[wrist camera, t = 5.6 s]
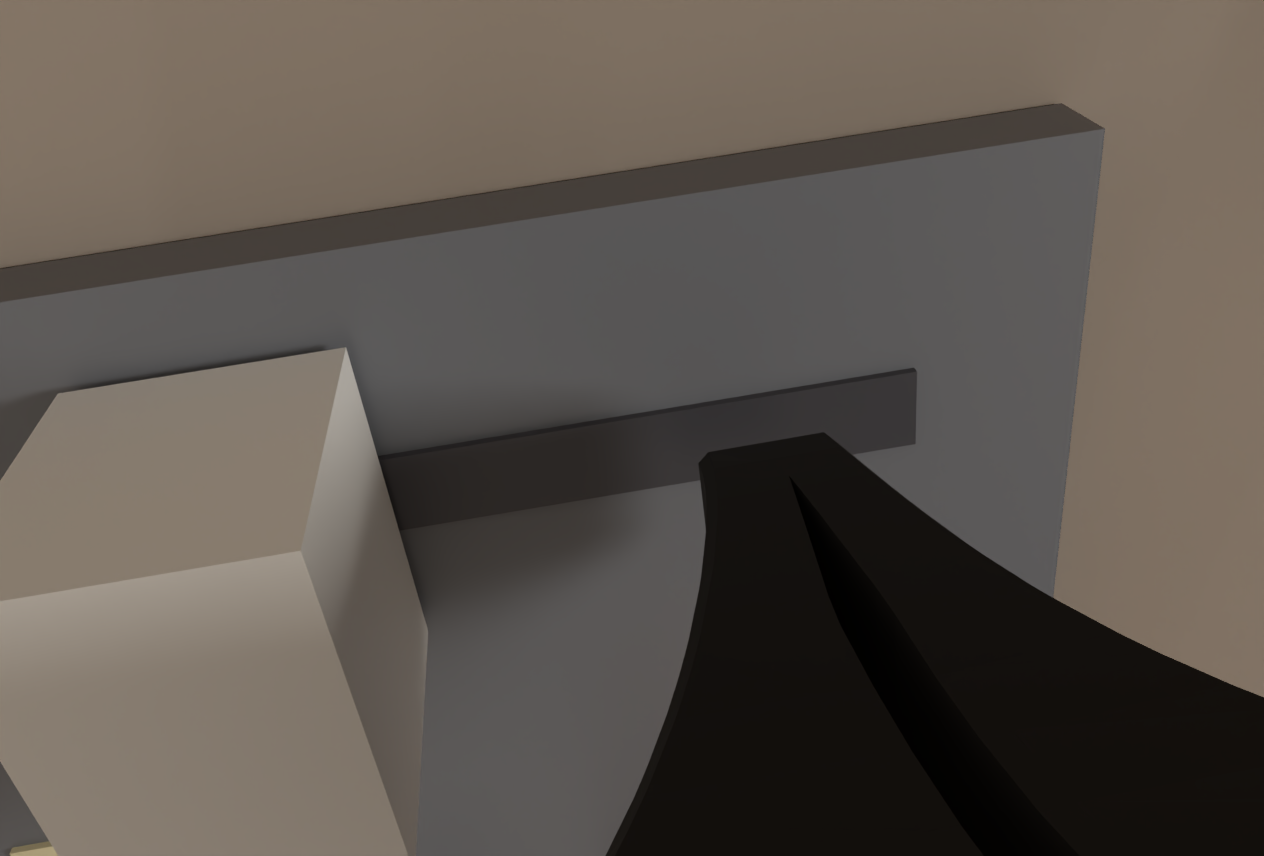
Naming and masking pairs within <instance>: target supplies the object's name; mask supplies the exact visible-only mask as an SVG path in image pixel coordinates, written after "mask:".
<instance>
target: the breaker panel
mask: <svg viewBox="0 0 1264 856" xmlns="http://www.w3.org/2000/svg"><path fill="white" fill-rule="evenodd" d="M1104 132H1105V128H1103V127H1101V126H1099V125H1098V124H1096V123H1094V122H1093V121H1091V120H1089V119H1087V118H1086V117H1084V116H1082V115H1081V114H1079V113H1077V112H1076V111H1074V110H1072V109H1070V108H1069V107H1067V106H1065V105H1064V104H1062V103H1061V104H1055V105H1048V106H1042V107H1036V108H1029V109H1023V110H1016V111H1010V112H1003V113H997V114H991V115H984V116H978V117H971V118H965V119H959V120H952V121H946V122H939V123H933V124H927V125H920V126H914V127H907V128H901V129H894V130H888V131H882V132H875V133H869V134H862V135H856V136H850V137H843V138H837V139H830V140H824V141H818V142H811V143H805V144H798V145H792V146H785V147H779V148H773V149H766V150H760V151H753V152H747V153H741V154H734V155H728V156H721V157H715V158H709V159H702V160H696V161H689V162H683V163H676V164H670V165H664V166H657V167H651V168H644V169H638V170H632V171H625V172H619V173H612V174H606V175H600V176H593V177H587V178H580V179H574V180H567V181H561V182H555V183H548V184H542V185H535V186H529V187H523V188H516V189H510V190H503V191H497V192H491V193H484V194H478V195H471V196H465V197H458V198H452V199H446V200H439V201H433V202H426V203H420V204H414V205H407V206H401V207H394V208H388V209H382V210H375V211H369V212H362V213H356V214H349V215H343V216H337V217H330V218H324V219H317V220H311V221H305V222H298V223H292V224H285V225H279V226H273V227H266V228H260V229H253V230H247V231H240V232H234V233H228V234H221V235H215V236H208V237H202V238H196V239H189V240H183V241H176V242H170V243H164V244H157V245H151V246H144V247H138V248H132V249H125V250H119V251H112V252H106V253H99V254H93V255H87V256H80V257H74V258H67V259H61V260H55V261H48V262H42V263H35V264H29V265H23V266H16V267H10V268H3V269H0V480H1V479H2V477H3V476H4V474H5V473H6V471H7V470H8V468H9V467H10V465H11V464H12V462H13V461H14V459H15V458H16V456H17V455H18V453H19V452H20V450H21V449H22V447H23V446H24V444H25V443H26V441H27V439H28V438H29V436H30V435H31V433H32V432H33V430H34V429H35V427H36V426H37V424H38V423H39V421H40V420H41V418H42V417H43V415H44V414H45V412H46V411H47V409H48V408H49V406H50V405H51V403H52V402H53V400H54V399H55V397H56V396H57V394H58V393H64V392H71V391H77V390H83V389H89V388H95V387H102V386H108V385H114V384H120V383H127V382H133V381H139V380H145V379H151V378H158V377H164V376H170V375H176V374H183V373H189V372H195V371H201V370H207V369H214V368H220V367H226V366H232V365H238V364H245V363H251V362H257V361H263V360H270V359H276V358H282V357H288V356H294V355H301V354H307V353H313V352H319V351H326V350H332V349H338V348H344V347H346V349H347V352H348V356H349V359H350V363H351V366H352V370H353V373H354V377H355V380H356V383H357V387H358V390H359V394H360V397H361V401H362V404H363V408H364V411H365V415H366V418H367V421H368V425H369V428H370V432H371V435H372V439H373V442H374V446H375V449H376V453H377V456H378V459H379V463H380V466H381V470H382V473H383V477H384V480H385V484H386V487H387V491H388V494H389V497H390V501H391V504H392V508H393V511H394V515H395V518H396V522H397V525H398V528H399V532H400V535H401V539H402V542H403V546H404V549H405V553H406V556H407V560H408V563H409V566H410V570H411V573H412V577H413V580H414V584H415V587H416V591H417V594H418V598H419V601H420V604H421V608H422V611H423V615H424V618H425V622H426V625H427V629H428V644H427V662H426V680H425V698H424V716H423V734H422V752H421V770H420V788H419V807H418V825H417V843H416V856H606V854H607V852H608V850H609V848H610V846H611V844H612V841H613V839H614V837H615V835H616V833H617V831H618V829H619V827H620V825H621V823H622V821H623V819H624V817H625V815H626V813H627V811H628V809H629V807H630V805H631V803H632V801H633V799H634V796H635V794H636V792H637V789H638V787H639V785H640V782H641V780H642V778H643V775H644V773H645V770H646V768H647V766H648V763H649V761H650V758H651V755H652V753H653V750H654V747H655V745H656V742H657V739H658V737H659V734H660V731H661V729H662V726H663V723H664V721H665V718H666V715H667V712H668V709H669V706H670V703H671V700H672V697H673V693H674V690H675V687H676V684H677V681H678V677H679V674H680V670H681V667H682V663H683V659H684V656H685V652H686V648H687V644H688V640H689V636H690V631H691V626H692V621H693V616H694V611H695V606H696V602H697V597H698V592H699V586H700V580H701V573H702V564H703V555H704V545H705V536H706V527H705V518H704V509H703V500H702V491H701V482H700V474H699V465H698V463H699V462H700V461H701V460H702V459H703V457H704V456H705V455H706V454H707V453H708V452H711V451H717V450H723V449H729V448H735V447H740V446H746V445H752V444H758V443H764V442H769V441H775V440H781V439H787V438H793V437H798V436H804V435H810V434H816V433H822V432H825V433H826V434H827V435H828V436H830V437H831V438H832V439H834V440H835V441H836V442H838V443H839V444H840V445H841V446H842V447H844V448H845V449H846V450H847V451H849V452H850V453H851V454H852V455H853V456H855V457H856V458H857V459H858V460H860V461H861V462H862V463H863V464H864V465H866V466H867V467H868V468H869V469H870V470H872V471H873V472H874V473H875V474H877V475H878V476H879V477H880V478H881V479H883V480H884V481H885V482H886V483H888V484H889V485H890V486H891V487H893V488H894V489H895V490H897V491H898V492H899V493H900V494H902V495H903V496H904V497H905V498H907V499H908V500H909V501H910V502H912V503H913V504H914V505H916V506H917V507H918V508H920V509H921V510H922V511H924V512H925V513H926V514H928V515H929V516H930V517H932V518H933V519H934V520H936V521H937V522H938V523H940V524H941V525H943V526H944V527H945V528H947V529H948V530H949V531H951V532H952V533H953V534H955V535H956V536H958V537H959V538H960V539H962V540H963V541H964V542H966V543H967V544H969V545H970V546H972V547H973V548H974V549H976V550H977V551H979V552H980V553H982V554H983V555H985V556H986V557H988V558H990V559H991V560H993V561H994V562H996V563H997V564H999V565H1000V566H1002V567H1004V568H1005V569H1007V570H1008V571H1010V572H1011V573H1013V574H1015V575H1016V576H1018V577H1019V578H1021V579H1022V580H1024V581H1025V582H1027V583H1029V584H1030V585H1032V586H1034V587H1035V588H1037V589H1039V590H1040V591H1042V592H1044V593H1046V594H1047V595H1049V596H1051V597H1052V598H1053V593H1054V584H1055V575H1056V566H1057V557H1058V548H1059V539H1060V530H1061V521H1062V512H1063V503H1064V494H1065V485H1066V476H1067V467H1068V458H1069V449H1070V440H1071V431H1072V422H1073V413H1074V404H1075V394H1076V385H1077V376H1078V367H1079V358H1080V349H1081V340H1082V331H1083V322H1084V313H1085V304H1086V295H1087V286H1088V277H1089V268H1090V259H1091V250H1092V241H1093V232H1094V223H1095V214H1096V205H1097V196H1098V187H1099V178H1100V169H1101V160H1102V150H1103V141H1104ZM0 856H58V855H57V853H56V851H55V850H54V848H53V846H52V845H51V843H50V842H49V840H48V838H47V837H46V835H45V833H44V832H43V830H42V829H41V827H40V825H39V824H38V822H37V820H36V819H35V817H34V816H33V814H32V812H31V811H30V809H29V808H28V806H27V804H26V803H25V801H24V799H23V798H22V796H21V795H20V793H19V791H18V790H17V788H16V786H15V785H14V783H13V782H12V780H11V778H10V777H9V775H8V773H7V772H6V770H5V769H4V767H3V765H2V764H1V762H0Z"/></svg>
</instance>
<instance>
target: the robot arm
mask: <svg viewBox="0 0 1264 856" xmlns="http://www.w3.org/2000/svg"><path fill="white" fill-rule="evenodd" d="M698 465H699V474H700V482H701V491H702V500H703V509H704V518H705V527H706V536H705V545H704V555H703V564H702V573H701V580H700V586H699V592H698V597H697V602H696V606H695V611H694V616H693V621H692V626H691V631H690V636H689V640H688V644H687V648H686V652H685V656H684V659H683V663H682V667H681V670H680V674H679V677H678V681H677V684H676V687H675V690H674V693H673V697H672V700H671V703H670V706H669V709H668V712H667V715H666V718H665V721H664V723H663V726H662V729H661V731H660V734H659V737H658V739H657V742H656V745H655V747H654V750H653V753H652V755H651V758H650V761H649V763H648V766H647V768H646V770H645V773H644V775H643V778H642V780H641V782H640V785H639V787H638V789H637V792H636V794H635V796H634V799H633V801H632V803H631V805H630V807H629V809H628V811H627V813H626V815H625V817H624V819H623V821H622V823H621V825H620V827H619V829H618V831H617V833H616V835H615V837H614V839H613V841H612V844H611V846H610V848H609V850H608V852H607V854H606V856H1264V697H1261V696H1259V695H1256V694H1254V693H1251V692H1249V691H1246V690H1243V689H1241V688H1238V687H1236V686H1233V685H1231V684H1229V683H1226V682H1224V681H1222V680H1220V679H1217V678H1215V677H1213V676H1210V675H1208V674H1206V673H1204V672H1201V671H1199V670H1197V669H1195V668H1192V667H1190V666H1188V665H1185V664H1183V663H1181V662H1179V661H1176V660H1174V659H1172V658H1169V657H1167V656H1165V655H1163V654H1160V653H1158V652H1156V651H1154V650H1152V649H1150V648H1148V647H1146V646H1144V645H1142V644H1140V643H1138V642H1135V641H1133V640H1131V639H1129V638H1127V637H1125V636H1123V635H1121V634H1119V633H1117V632H1115V631H1114V630H1112V629H1110V628H1108V627H1106V626H1104V625H1102V624H1100V623H1099V622H1097V621H1095V620H1093V619H1091V618H1089V617H1087V616H1085V615H1084V614H1082V613H1080V612H1078V611H1076V610H1074V609H1072V608H1070V607H1069V606H1067V605H1065V604H1063V603H1061V602H1059V601H1058V600H1056V599H1054V598H1052V597H1051V596H1049V595H1047V594H1046V593H1044V592H1042V591H1040V590H1039V589H1037V588H1035V587H1034V586H1032V585H1030V584H1029V583H1027V582H1025V581H1024V580H1022V579H1021V578H1019V577H1018V576H1016V575H1015V574H1013V573H1011V572H1010V571H1008V570H1007V569H1005V568H1004V567H1002V566H1000V565H999V564H997V563H996V562H994V561H993V560H991V559H990V558H988V557H986V556H985V555H983V554H982V553H980V552H979V551H977V550H976V549H974V548H973V547H972V546H970V545H969V544H967V543H966V542H964V541H963V540H962V539H960V538H959V537H958V536H956V535H955V534H953V533H952V532H951V531H949V530H948V529H947V528H945V527H944V526H943V525H941V524H940V523H938V522H937V521H936V520H934V519H933V518H932V517H930V516H929V515H928V514H926V513H925V512H924V511H922V510H921V509H920V508H918V507H917V506H916V505H914V504H913V503H912V502H910V501H909V500H908V499H907V498H905V497H904V496H903V495H902V494H900V493H899V492H898V491H897V490H895V489H894V488H893V487H891V486H890V485H889V484H888V483H886V482H885V481H884V480H883V479H881V478H880V477H879V476H878V475H877V474H875V473H874V472H873V471H872V470H870V469H869V468H868V467H867V466H866V465H864V464H863V463H862V462H861V461H860V460H858V459H857V458H856V457H855V456H853V455H852V454H851V453H850V452H849V451H847V450H846V449H845V448H844V447H842V446H841V445H840V444H839V443H838V442H836V441H835V440H834V439H832V438H831V437H830V436H828V435H827V434H826V433H825V432H822V433H816V434H810V435H804V436H798V437H793V438H787V439H781V440H775V441H769V442H764V443H758V444H752V445H746V446H740V447H735V448H729V449H723V450H717V451H711V452H708V453H707V454H706V455H705V456H704V457H703V459H702V460H701V461H700V462H699V463H698Z"/></svg>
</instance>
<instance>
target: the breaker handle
mask: <svg viewBox="0 0 1264 856" xmlns="http://www.w3.org/2000/svg"><path fill="white" fill-rule="evenodd" d="M427 644H428V629H427V625H426V622H425V618H424V615H423V611H422V608H421V604H420V601H419V598H418V594H417V591H416V587H415V584H414V580H413V577H412V573H411V570H410V566H409V563H408V560H407V556H406V553H405V549H404V546H403V542H402V539H401V535H400V532H399V528H398V525H397V522H396V518H395V515H394V511H393V508H392V504H391V501H390V497H389V494H388V491H387V487H386V484H385V480H384V477H383V473H382V470H381V466H380V463H379V459H378V456H377V453H376V449H375V446H374V442H373V439H372V435H371V432H370V428H369V425H368V421H367V418H366V415H365V411H364V408H363V404H362V401H361V397H360V394H359V390H358V387H357V383H356V380H355V377H354V373H353V370H352V366H351V363H350V359H349V356H348V352H347V349H346V347H344V348H338V349H332V350H326V351H319V352H313V353H307V354H301V355H294V356H288V357H282V358H276V359H270V360H263V361H257V362H251V363H245V364H238V365H232V366H226V367H220V368H214V369H207V370H201V371H195V372H189V373H183V374H176V375H170V376H164V377H158V378H151V379H145V380H139V381H133V382H127V383H120V384H114V385H108V386H102V387H95V388H89V389H83V390H77V391H71V392H64V393H58V394H57V396H56V397H55V399H54V400H53V402H52V403H51V405H50V406H49V408H48V409H47V411H46V412H45V414H44V415H43V417H42V418H41V420H40V421H39V423H38V424H37V426H36V427H35V429H34V430H33V432H32V433H31V435H30V436H29V438H28V439H27V441H26V443H25V444H24V446H23V447H22V449H21V450H20V452H19V453H18V455H17V456H16V458H15V459H14V461H13V462H12V464H11V465H10V467H9V468H8V470H7V471H6V473H5V474H4V476H3V477H2V479H1V480H0V762H1V764H2V765H3V767H4V769H5V770H6V772H7V773H8V775H9V777H10V778H11V780H12V782H13V783H14V785H15V786H16V788H17V790H18V791H19V793H20V795H21V796H22V798H23V799H24V801H25V803H26V804H27V806H28V808H29V809H30V811H31V812H32V814H33V816H34V817H35V819H36V820H37V822H38V824H39V825H40V827H41V829H42V830H43V832H44V833H45V835H46V837H47V838H48V840H49V842H50V843H51V845H52V846H53V848H54V850H55V851H56V853H57V855H58V856H416V843H417V825H418V807H419V788H420V770H421V752H422V734H423V716H424V698H425V680H426V662H427Z"/></svg>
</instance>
